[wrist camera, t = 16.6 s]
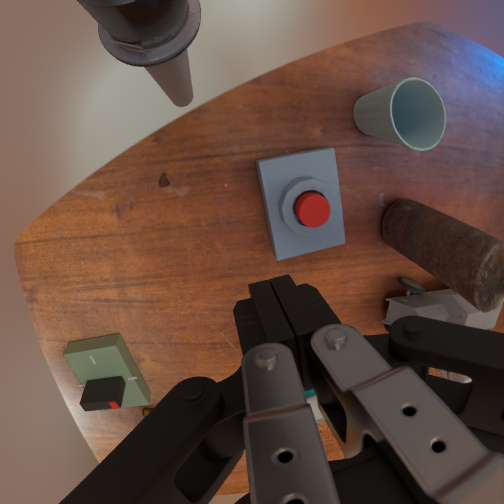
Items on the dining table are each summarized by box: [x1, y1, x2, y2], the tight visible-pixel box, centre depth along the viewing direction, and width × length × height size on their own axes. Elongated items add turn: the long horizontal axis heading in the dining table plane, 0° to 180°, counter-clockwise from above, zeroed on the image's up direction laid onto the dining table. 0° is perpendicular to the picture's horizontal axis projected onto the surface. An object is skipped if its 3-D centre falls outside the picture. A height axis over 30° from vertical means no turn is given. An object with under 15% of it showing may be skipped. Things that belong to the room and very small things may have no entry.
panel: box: [63, 333, 150, 411], centre depth 42 cm, size 12×10×3 cm
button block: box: [255, 147, 345, 261], centre depth 37 cm, size 12×9×4 cm
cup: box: [353, 78, 446, 151], centre depth 31 cm, size 8×8×10 cm
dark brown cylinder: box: [382, 199, 504, 313], centre depth 33 cm, size 8×7×20 cm
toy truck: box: [380, 277, 504, 332], centre depth 44 cm, size 25×12×10 cm, turn 88°
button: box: [295, 192, 330, 228], centre depth 35 cm, size 4×4×2 cm
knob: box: [80, 376, 126, 411], centre depth 38 cm, size 6×2×5 cm, turn 101°
